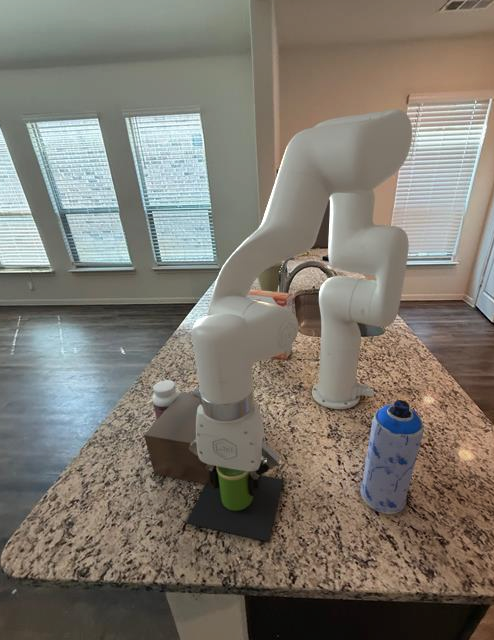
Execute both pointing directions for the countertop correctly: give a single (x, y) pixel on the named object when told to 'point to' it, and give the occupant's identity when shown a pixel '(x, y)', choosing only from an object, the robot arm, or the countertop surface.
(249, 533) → the mat
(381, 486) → the aerosol can
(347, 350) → the robot arm
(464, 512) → the countertop surface
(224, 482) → the green cylinder can
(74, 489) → the countertop surface
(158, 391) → the pill bottle
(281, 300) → the cracker box
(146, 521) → the countertop surface
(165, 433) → the brown bridge stand
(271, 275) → the plant pot
